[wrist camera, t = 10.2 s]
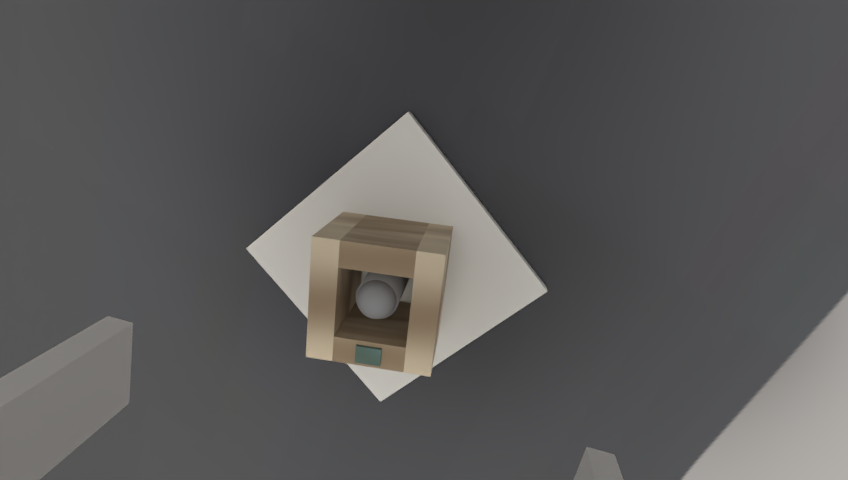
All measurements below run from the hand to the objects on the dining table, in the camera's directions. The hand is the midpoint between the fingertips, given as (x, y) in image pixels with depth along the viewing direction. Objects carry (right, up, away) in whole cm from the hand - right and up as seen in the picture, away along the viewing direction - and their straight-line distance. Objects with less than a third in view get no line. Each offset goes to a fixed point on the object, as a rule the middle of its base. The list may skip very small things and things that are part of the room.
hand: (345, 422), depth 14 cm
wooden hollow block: (0, +3, +18) cm, 18 cm away
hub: (0, +3, +19) cm, 19 cm away
